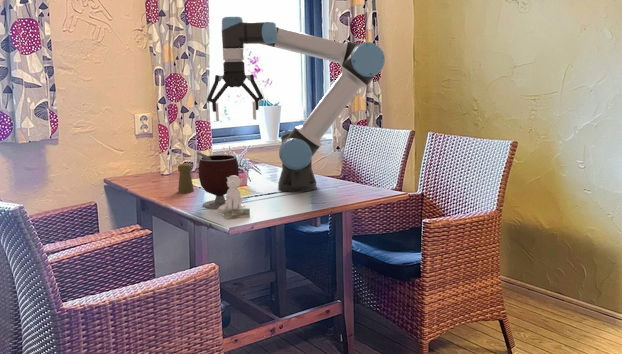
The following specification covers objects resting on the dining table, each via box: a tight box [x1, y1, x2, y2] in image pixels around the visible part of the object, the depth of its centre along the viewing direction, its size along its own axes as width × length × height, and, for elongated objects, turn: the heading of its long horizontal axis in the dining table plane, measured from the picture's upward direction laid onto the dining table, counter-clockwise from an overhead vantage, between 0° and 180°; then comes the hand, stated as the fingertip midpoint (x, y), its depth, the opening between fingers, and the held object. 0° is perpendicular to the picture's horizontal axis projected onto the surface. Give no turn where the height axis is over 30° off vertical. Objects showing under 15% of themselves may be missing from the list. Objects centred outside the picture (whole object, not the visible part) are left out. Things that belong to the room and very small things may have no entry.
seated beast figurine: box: [216, 175, 247, 215], centre depth 208 cm, size 10×9×12 cm
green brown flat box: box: [222, 207, 251, 220], centre depth 208 cm, size 8×11×3 cm
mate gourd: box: [196, 152, 239, 210], centre depth 219 cm, size 16×14×20 cm
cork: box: [177, 162, 195, 194], centre depth 245 cm, size 6×6×11 cm
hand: (236, 120), depth 229 cm, fingers open, 13 cm apart
